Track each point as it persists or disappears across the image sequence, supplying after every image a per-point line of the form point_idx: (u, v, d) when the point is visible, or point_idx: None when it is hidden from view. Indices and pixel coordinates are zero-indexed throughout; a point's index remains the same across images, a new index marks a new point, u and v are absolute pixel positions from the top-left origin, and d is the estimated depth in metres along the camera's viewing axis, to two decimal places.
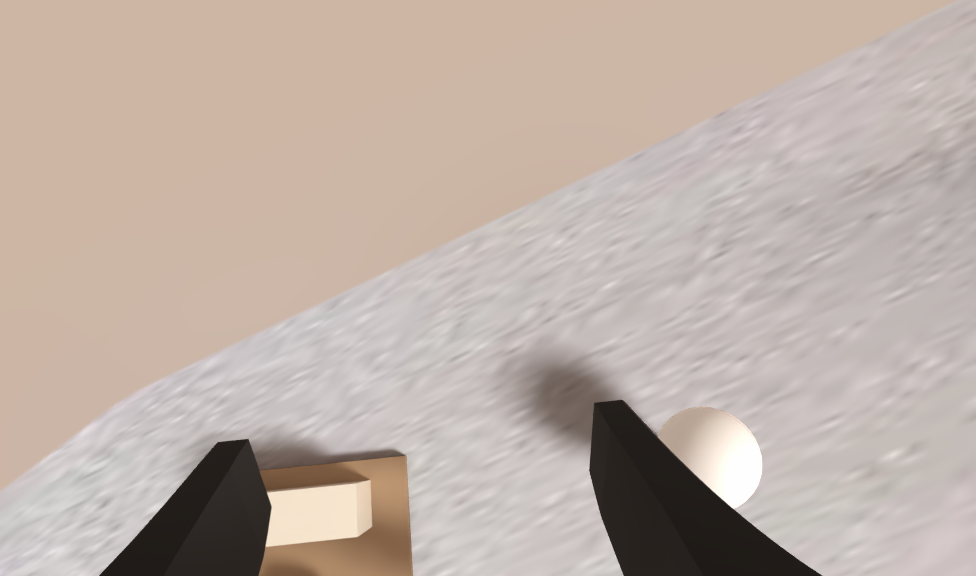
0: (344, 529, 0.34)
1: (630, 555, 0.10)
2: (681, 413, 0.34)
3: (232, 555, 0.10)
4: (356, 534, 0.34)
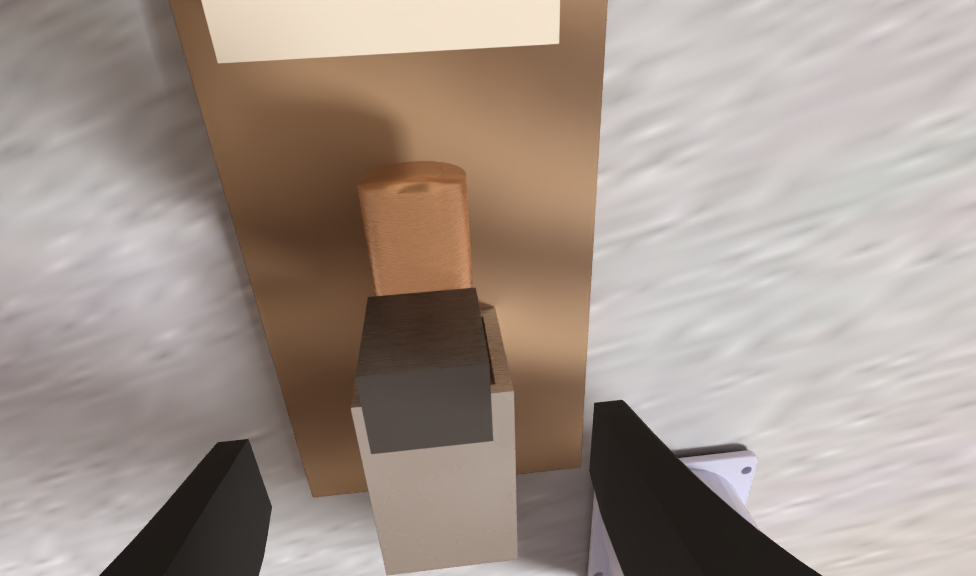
0: (522, 20, 0.12)
1: (629, 556, 0.10)
2: None
3: (232, 555, 0.10)
4: (556, 36, 0.12)
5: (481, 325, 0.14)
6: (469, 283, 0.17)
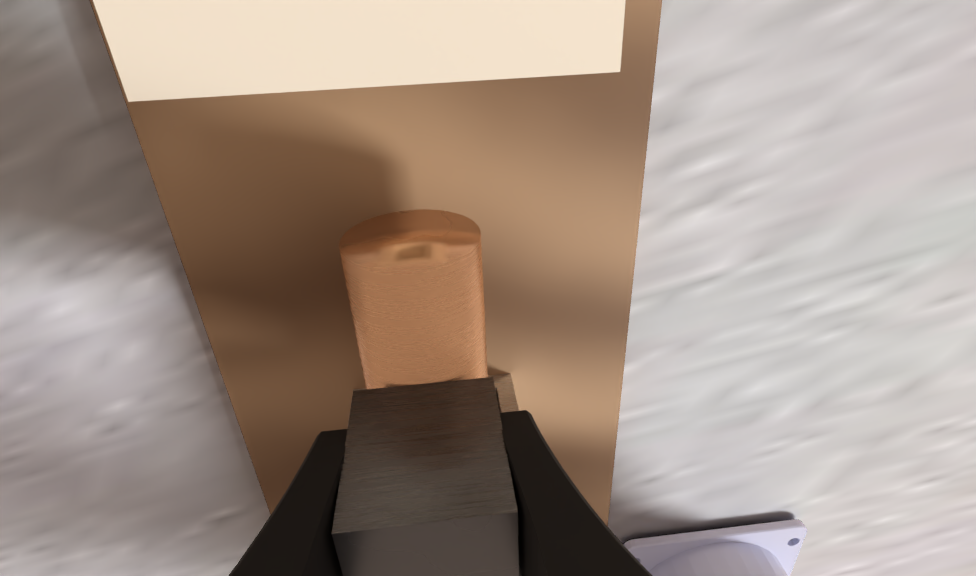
0: (569, 38, 0.08)
1: (522, 569, 0.10)
2: None
3: None
4: (616, 61, 0.08)
5: (503, 441, 0.11)
6: (483, 365, 0.13)
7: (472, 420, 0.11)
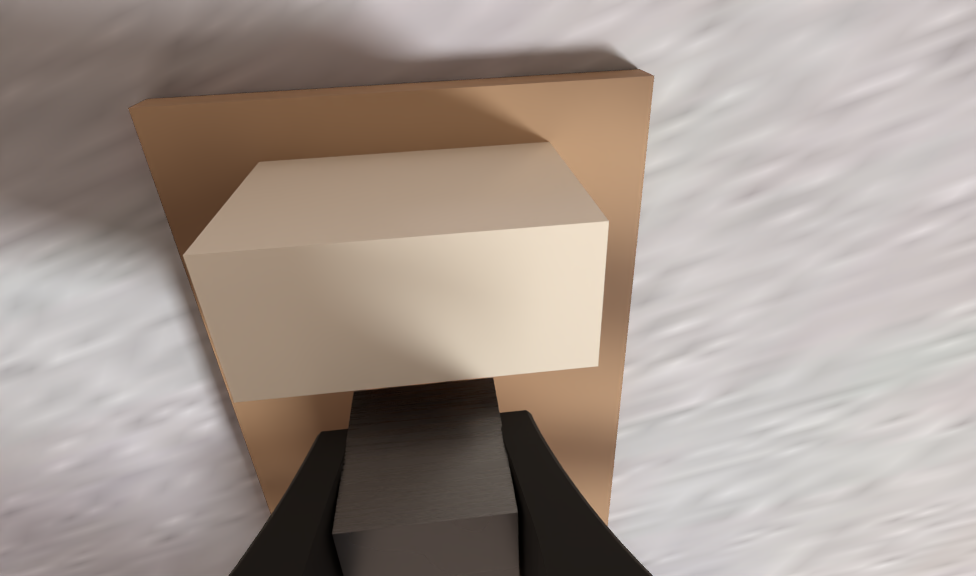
0: (559, 349, 0.11)
1: (522, 569, 0.10)
2: None
3: None
4: (595, 361, 0.11)
5: (503, 442, 0.11)
6: None
7: (472, 420, 0.11)
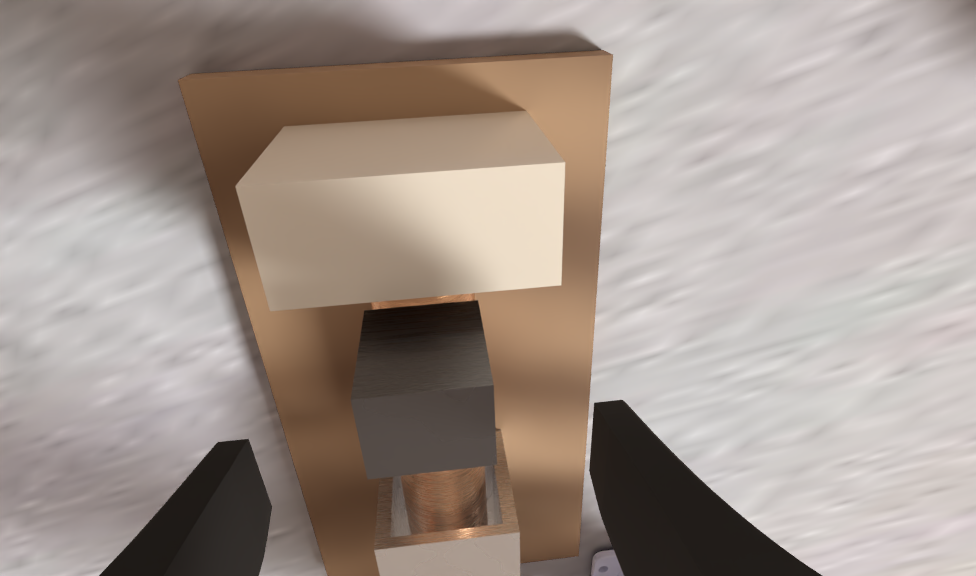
0: (530, 270, 0.13)
1: (630, 556, 0.10)
2: None
3: (232, 555, 0.10)
4: (559, 280, 0.14)
5: (484, 342, 0.13)
6: (471, 295, 0.16)
7: (460, 328, 0.14)
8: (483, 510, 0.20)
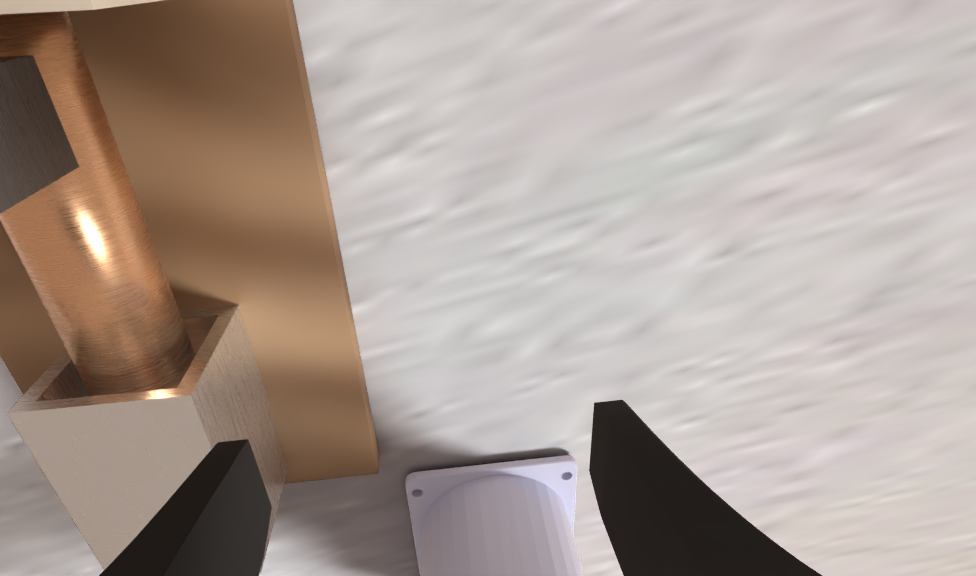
0: None
1: (629, 555, 0.10)
2: None
3: (232, 555, 0.10)
4: (86, 1, 0.10)
5: None
6: (56, 66, 0.13)
7: None
8: (179, 382, 0.17)
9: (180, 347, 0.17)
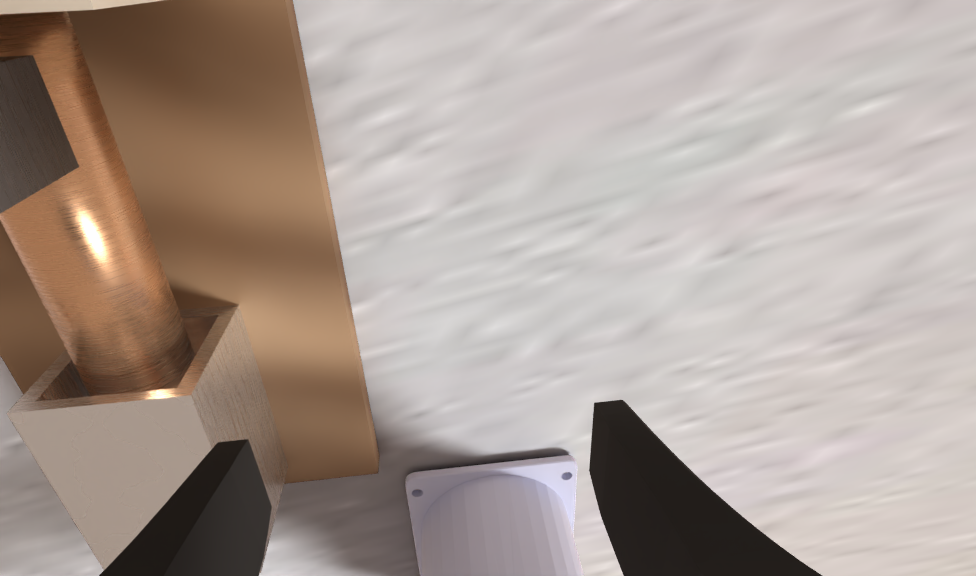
0: None
1: (629, 555, 0.10)
2: None
3: (232, 555, 0.10)
4: (86, 1, 0.10)
5: None
6: (56, 66, 0.13)
7: None
8: (179, 382, 0.17)
9: (180, 347, 0.17)
